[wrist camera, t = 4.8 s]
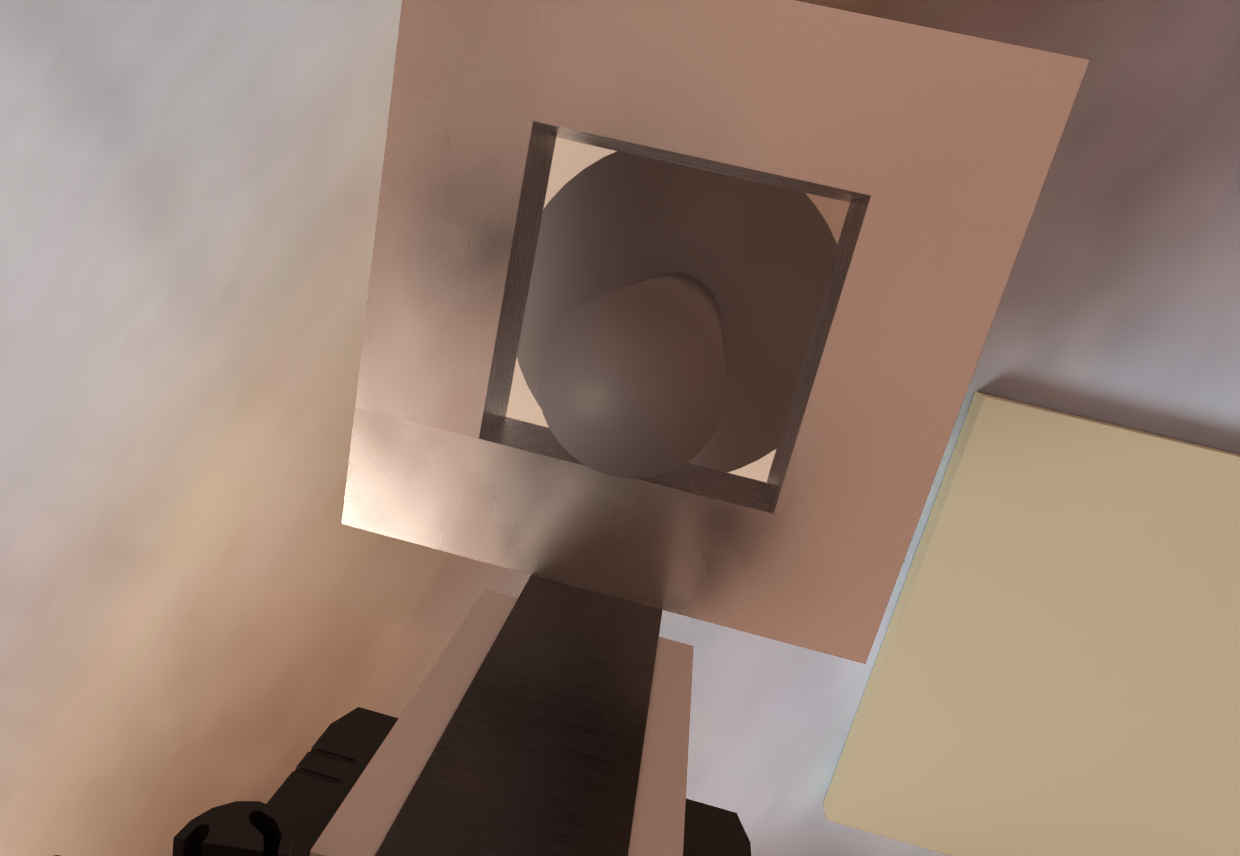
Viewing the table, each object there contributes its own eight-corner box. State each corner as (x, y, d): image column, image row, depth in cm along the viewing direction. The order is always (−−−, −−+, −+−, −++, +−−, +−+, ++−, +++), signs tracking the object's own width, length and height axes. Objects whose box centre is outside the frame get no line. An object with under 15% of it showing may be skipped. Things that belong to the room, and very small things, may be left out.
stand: (495, -4, 22) (53, -533, 7) (1009, 103, 20) (1722, -270, 6) (423, 467, 26) (55, 734, 11) (845, 577, 25) (1033, 1031, 10)
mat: (975, 391, 22) (984, 396, 22) (1423, 498, 22) (1450, 507, 21) (823, 803, 27) (826, 819, 26) (1188, 908, 26) (1202, 928, 25)
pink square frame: (452, -34, 14) (-298, -849, 4) (1035, 87, 13) (2226, -512, 3) (369, 589, 18) (-100, 1054, 8) (814, 711, 17) (968, 1416, 7)
